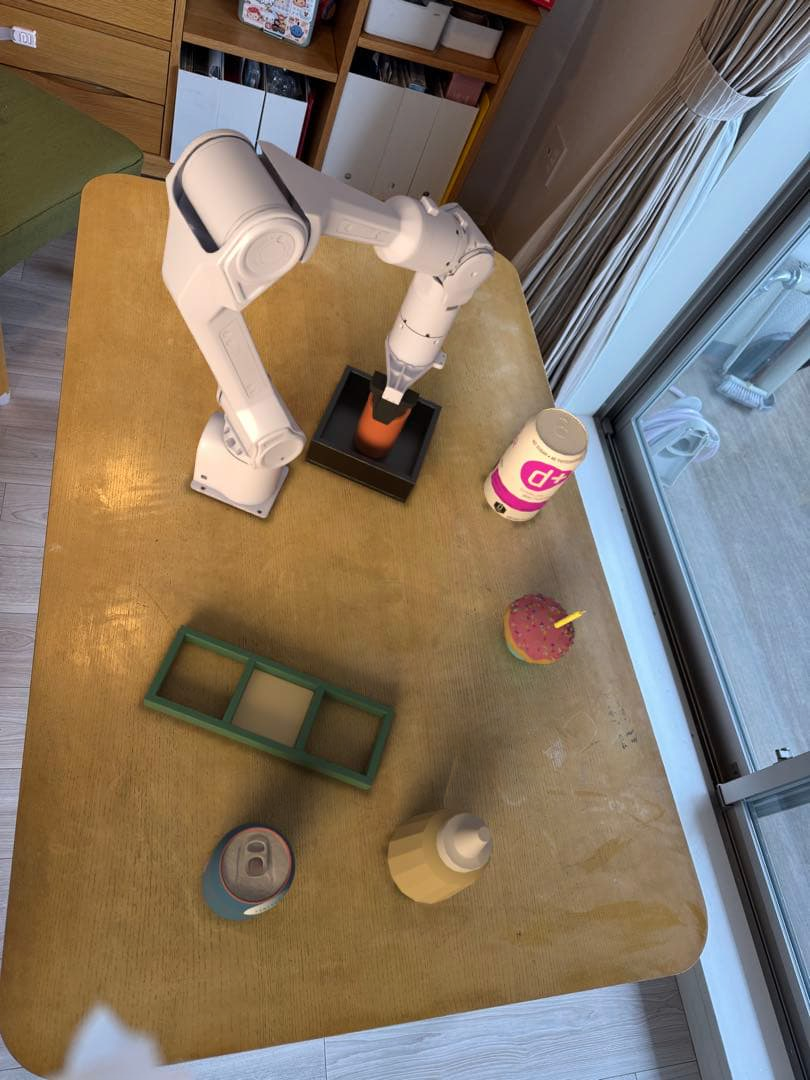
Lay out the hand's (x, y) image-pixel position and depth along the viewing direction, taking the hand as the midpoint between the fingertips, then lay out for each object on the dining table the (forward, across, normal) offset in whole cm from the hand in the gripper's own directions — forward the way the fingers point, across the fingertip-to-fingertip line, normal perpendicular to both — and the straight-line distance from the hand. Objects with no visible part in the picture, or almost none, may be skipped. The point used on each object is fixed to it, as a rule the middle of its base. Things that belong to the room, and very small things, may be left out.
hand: (389, 397), depth 93 cm
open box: (+9, 0, 0) cm, 9 cm away
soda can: (+10, -54, -4) cm, 55 cm away
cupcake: (+9, -19, -26) cm, 34 cm away
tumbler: (+9, 0, 0) cm, 9 cm away
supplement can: (+9, +1, -20) cm, 22 cm away
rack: (+9, -38, -1) cm, 39 cm away
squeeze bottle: (+10, -47, -20) cm, 52 cm away
